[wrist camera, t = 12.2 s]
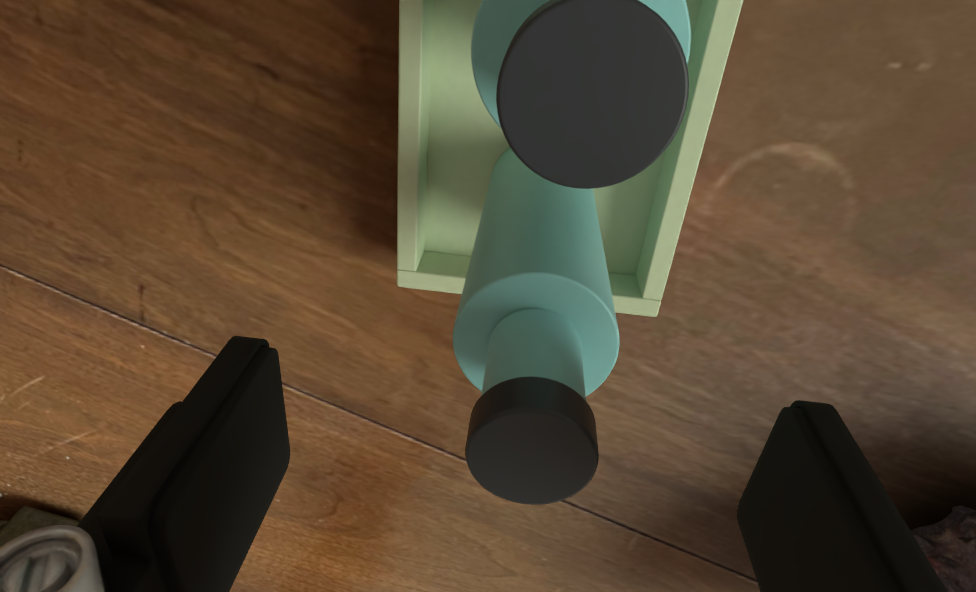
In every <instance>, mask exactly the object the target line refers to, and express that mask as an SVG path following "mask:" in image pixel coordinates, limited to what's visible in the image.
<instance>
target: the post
mask: <svg viewBox="0 0 976 592" xmlns="http://www.w3.org/2000/svg"><path fill="white" fill-rule="evenodd" d="M80 522H81V521H77V520H74V519H70V518H67V517H63V516H60V515H56V514H53V513H50V512H46V511H43V510H39V509H36V508H32V507H29V506H22V507H21V508H20V510H19V511H18V512H17V513H16V514H15V515H14V516H13V517H12V518H11V519H10V520H9V521H3V520H0V547H2V546H3V545H4V544H6V543H7V542H9V541H10V540H12V539H14V538H16V537H18V536H20V535H22V534H25V533H27V532H29V531H32V530H35V529H39V528H42V527H46V526H53V525H69V526H74V527H77V525H78V524H79V523H80Z"/></svg>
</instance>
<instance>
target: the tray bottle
mask: <svg viewBox="0 0 976 592" xmlns="http://www.w3.org/2000/svg"><path fill="white" fill-rule="evenodd" d="M690 44H691V28H690V17H689V13H688V8H687V3H686V1H685V0H482V1H481V4H480V6H479V9H478V11H477V15H476V18H475V22H474V26H473V33H472V41H471V61H472V69H473V75H474V79H475V83H476V87H477V90H478V92H479V95H480V97H481V100H482V102H483V104H484V105H485V107H486V109H487V111H488V113H489V114H490V115H491V117H492V118H493V120H494V121H495V123H496V124H497V125H498V126H499V127H500V128H501V129H502V131H503V134H504V137H505V138H506V140H507V142H508V144H509V146H510V148H511V149H512V150H513V152H514V153H515V155H516V156H517V157H518V158H519V159H520V160H521V161H522V163H523V164H524V165H525V166H527V167H528V168H529V169H530V170H531V171H533V172H534V173H536V174H537V175H539V176H540V177H542V178H544V179H546V180H548V181H550V182H553V183H555V184H558V185H562V186H565V187H571V188H579V189H593V188H602V187H607V186H611V185H614V184H617V183H620V182H623V181H625V180H627V179H630V178H632V177H634V176H635V175H637V174H638V173H640V172H642V171H643V170H645V169H646V168H647V167H648V166H650V165H651V164H652V163H653V162H654V161H655V160H656V159H657V158H658V157H659V156H660V155H661V154H662V153H663V152H664V151H665V150H666V148H667V147H668V146H669V144H670V143H671V141H672V140H673V138H674V136H675V135H676V133H677V131H678V129H679V127H680V125H681V122H682V120H683V117H684V114H685V110H686V106H687V101H688V94H689V75H688V67H687V65H688V60H689V54H690Z"/></svg>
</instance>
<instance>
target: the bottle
mask: <svg viewBox="0 0 976 592" xmlns="http://www.w3.org/2000/svg"><path fill="white" fill-rule="evenodd" d="M453 348H454V353H455V356H456V359H457V362H458V364H459V366H460V368H461V370H462V371H463V373H464V374H465V376H466V377H467V378H468V379H469V380H470V382H471V383H472V384H473V385H474V386H475V387H477V388H478V389H479V390H480V391H482V394H481V397H480V398H479V399H478V401H477V402H476V404H475V406H474V407H473V410H472V413H471V418H470V424H469V430H468V436H467V442H466V448H465V456H466V461H467V464H468V467H469V469H470V471H471V473H472V475H473V476H474V478H475V479H476V480H477V482H478V483H479V484H480V485H481V486H483V487H484V488H485V489H486V490H488V491H489V492H491V493H492V494H494V495H496V496H498V497H500V498H503V499H506V500H508V501H512V502H516V503H521V504H531V505H540V504H549V503H554V502H558V501H561V500H564V499H567V498H569V497H571V496H573V495H575V494H576V493H578V492H579V491H581V490H582V489H583V488H584V487H585V486H586V485H587V484H588V483H589V481H590V480H591V479H592V477H593V475H594V473H595V471H596V468H597V465H598V459H599V458H598V444H597V434H596V423H595V418H594V415H593V412H592V410H591V408H590V406H589V405H588V403H587V402H586V396H587V395H589V394H590V393H592V392H593V391H594V390H595V389H597V388H598V387H599V386H600V385H601V384H602V383H603V382H604V381H605V379H606V378H607V377H608V375H609V374H610V372H611V371H612V369H613V367H614V365H615V362H616V359H617V356H618V351H619V331H618V325H617V320H616V314H615V309H614V303H613V298H612V292H611V287H610V281H609V276H608V270H607V264H606V259H605V253H604V248H603V242H602V237H601V231H600V226H599V220H598V215H597V209H596V204H595V198H594V193H593V189H579V188H571V187H565V186H562V185H558V184H555V183H553V182H550V181H548V180H546V179H544V178H542V177H540V176H539V175H537V174H536V173H534V172H533V171H531V170H530V169H529V168H528V167H527V166H525V165H524V164H523V163H522V161H521V160H520V159H519V158H518V157H517V156H516V155H515V153H514V152H513V150H512V149H511V148H509V149H507V150H506V151H505V152H504V153H503V154H502V155H501V157H500V158H499V159H498V161H497V162H496V164H495V166H494V168H493V171H492V174H491V178H490V182H489V186H488V190H487V194H486V199H485V203H484V207H483V211H482V215H481V219H480V223H479V227H478V231H477V235H476V239H475V243H474V247H473V251H472V255H471V259H470V263H469V267H468V271H467V275H466V280H465V284H464V288H463V292H462V296H461V300H460V304H459V308H458V312H457V316H456V320H455V324H454V330H453Z"/></svg>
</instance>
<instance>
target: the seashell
mask: <svg viewBox="0 0 976 592" xmlns="http://www.w3.org/2000/svg"><path fill="white" fill-rule="evenodd" d="M910 531H911V533H912V534H913V536H914V538H915V539H916V541H917V542H918V544H919V546H920V547H921V549H922V551H923V552H924V554H925V556H926V557H927V559H928V560H929V562H930V564H931V565H932V567H933V569H934V570H935V572H936V573H937V575H938V577H939V578H940V580H941V582H942V583H943V585H944V587H945V588H946V590H947V591H948V592H976V511H975V510H972V509H970V508H967V507H964V506H961V505H960V506H954V507H953V509H952V512H951V514H949V515H948V516H947V517H945V519H943V520H941V521H939V522H937V523H935V524H933V525H928V526H922V527H918V528H915V529H912V530H910Z"/></svg>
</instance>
